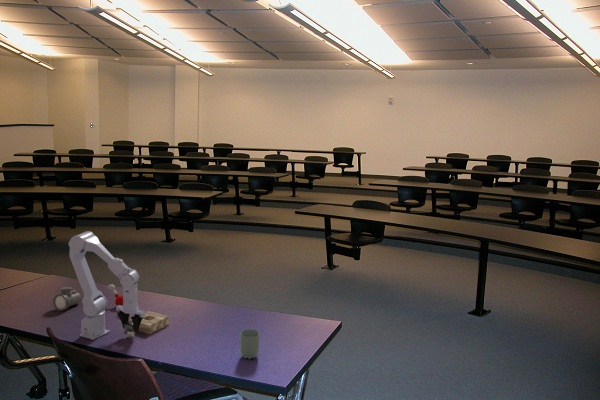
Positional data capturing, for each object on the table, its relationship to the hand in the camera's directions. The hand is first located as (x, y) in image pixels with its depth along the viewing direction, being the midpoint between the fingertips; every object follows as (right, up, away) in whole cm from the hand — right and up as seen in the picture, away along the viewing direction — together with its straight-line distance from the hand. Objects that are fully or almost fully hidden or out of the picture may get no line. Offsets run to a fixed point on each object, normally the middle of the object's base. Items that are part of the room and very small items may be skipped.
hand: (131, 329), depth 225 cm
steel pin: (0, -3, +1) cm, 3 cm away
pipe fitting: (-40, +3, +32) cm, 51 cm away
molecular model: (-15, +3, +34) cm, 37 cm away
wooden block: (+4, -1, +12) cm, 12 cm away
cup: (+52, -8, -14) cm, 54 cm away
